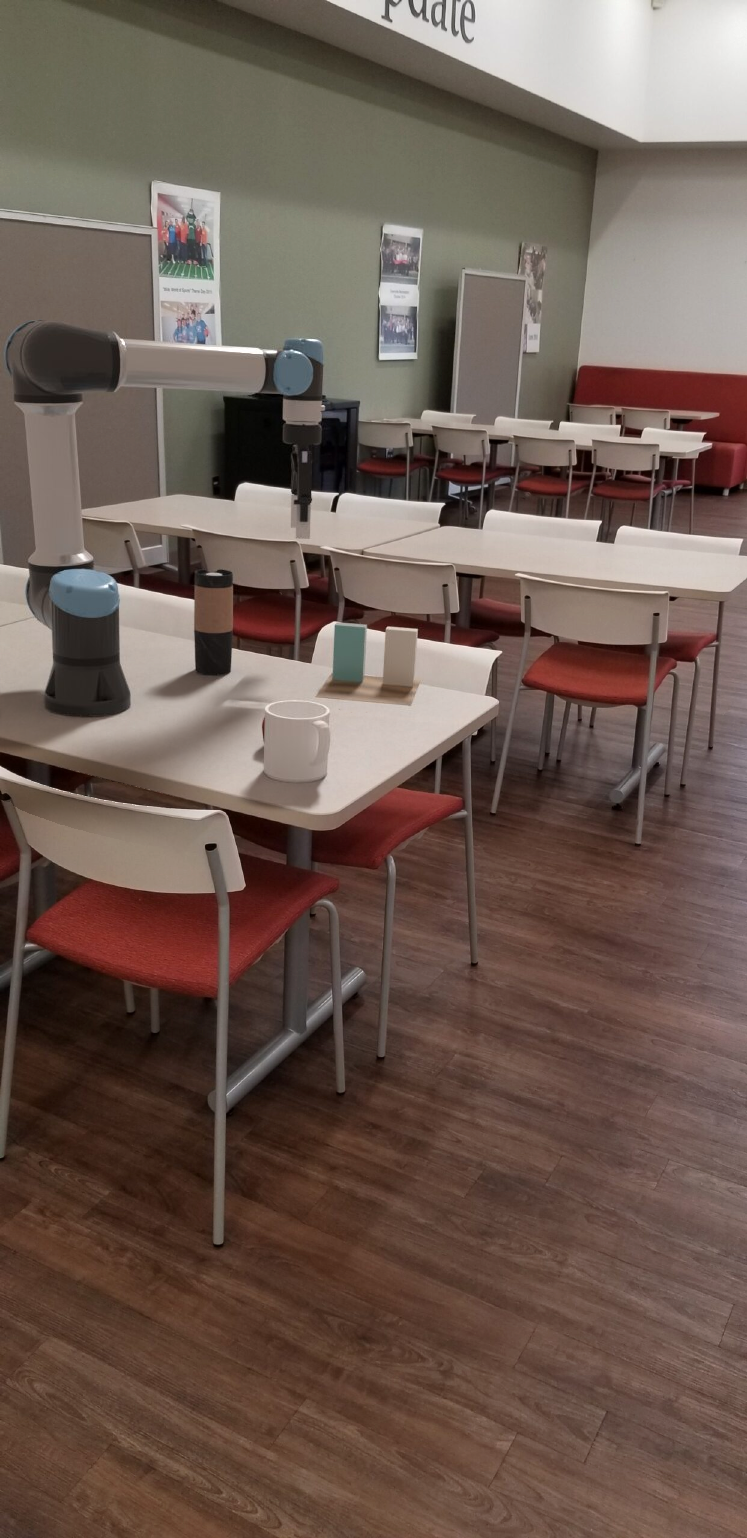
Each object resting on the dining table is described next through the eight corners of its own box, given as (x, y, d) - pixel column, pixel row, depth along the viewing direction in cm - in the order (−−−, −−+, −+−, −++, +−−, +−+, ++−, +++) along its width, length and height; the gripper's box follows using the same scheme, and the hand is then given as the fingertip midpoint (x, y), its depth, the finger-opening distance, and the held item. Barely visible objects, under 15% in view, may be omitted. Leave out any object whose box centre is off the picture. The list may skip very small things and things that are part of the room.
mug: (251, 768, 188) (252, 705, 185) (302, 757, 194) (304, 696, 191) (297, 792, 179) (300, 727, 176) (350, 780, 185) (353, 717, 182)
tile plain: (412, 686, 233) (416, 631, 230) (382, 684, 234) (385, 629, 230) (414, 683, 235) (417, 628, 232) (384, 680, 236) (387, 626, 232)
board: (410, 711, 222) (410, 705, 221) (315, 702, 224) (315, 696, 223) (420, 686, 238) (420, 680, 238) (331, 678, 240) (331, 672, 240)
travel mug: (216, 677, 236) (216, 577, 230) (186, 670, 240) (186, 571, 233) (239, 670, 243) (241, 572, 236) (210, 663, 246) (210, 567, 240)
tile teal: (362, 682, 234) (365, 627, 231) (332, 679, 235) (334, 624, 231) (364, 679, 237) (367, 624, 233) (334, 676, 237) (336, 622, 234)
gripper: (328, 428, 221) (324, 543, 228) (315, 418, 244) (313, 523, 251) (287, 426, 220) (285, 542, 227) (279, 417, 243) (277, 522, 250)
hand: (300, 532), depth 239 cm, fingers open, 13 cm apart
